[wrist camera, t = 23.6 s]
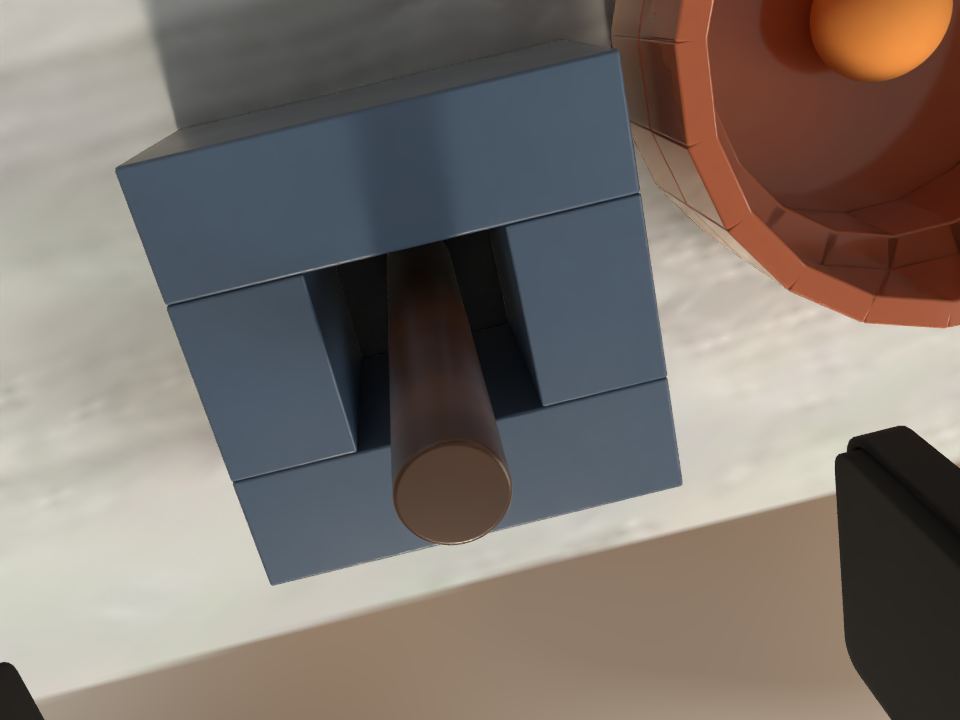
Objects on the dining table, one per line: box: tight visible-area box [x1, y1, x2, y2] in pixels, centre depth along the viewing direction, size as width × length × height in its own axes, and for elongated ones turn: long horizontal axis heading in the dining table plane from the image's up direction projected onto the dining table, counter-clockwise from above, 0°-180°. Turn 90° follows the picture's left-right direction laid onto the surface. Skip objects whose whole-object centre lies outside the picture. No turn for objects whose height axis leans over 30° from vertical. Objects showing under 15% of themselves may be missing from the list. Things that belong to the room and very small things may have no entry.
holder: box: [115, 39, 682, 585], centre depth 22 cm, size 10×10×6 cm
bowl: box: [611, 0, 960, 328], centre depth 21 cm, size 13×13×6 cm
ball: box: [810, 0, 953, 82], centre depth 22 cm, size 3×3×3 cm
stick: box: [387, 241, 513, 545], centre depth 19 cm, size 2×2×13 cm
